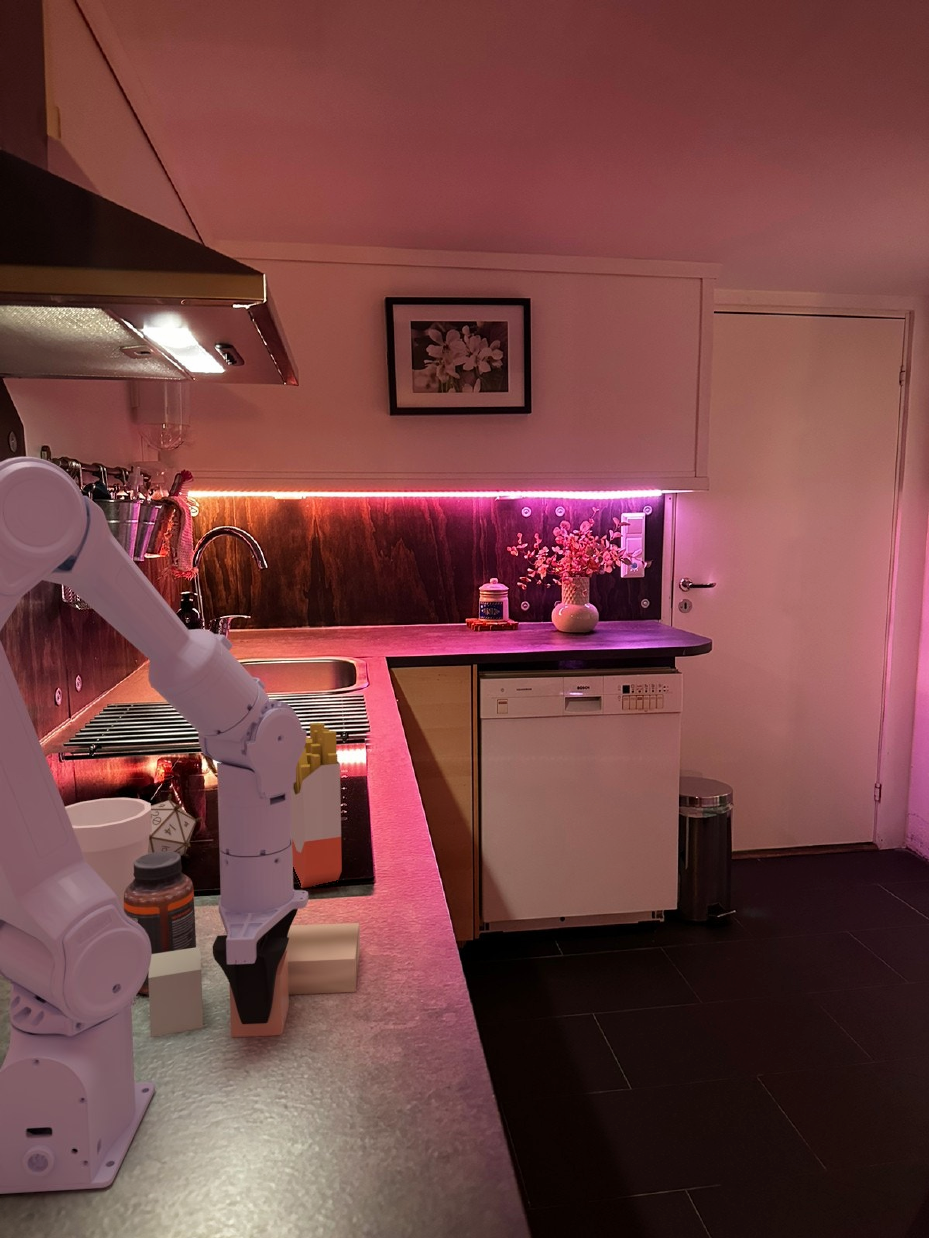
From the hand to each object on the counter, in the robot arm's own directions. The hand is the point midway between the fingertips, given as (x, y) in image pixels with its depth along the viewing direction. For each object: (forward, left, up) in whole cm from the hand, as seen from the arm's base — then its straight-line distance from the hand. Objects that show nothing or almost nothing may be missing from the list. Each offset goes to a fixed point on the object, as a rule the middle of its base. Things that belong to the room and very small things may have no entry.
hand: (260, 1005), depth 68 cm
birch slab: (+8, -4, -1) cm, 9 cm away
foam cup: (+16, +18, -2) cm, 24 cm away
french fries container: (+30, -1, -2) cm, 30 cm away
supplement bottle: (+7, +10, -2) cm, 13 cm away
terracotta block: (0, 0, -1) cm, 1 cm away
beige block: (+1, +7, -2) cm, 7 cm away
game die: (+36, +18, -2) cm, 40 cm away
